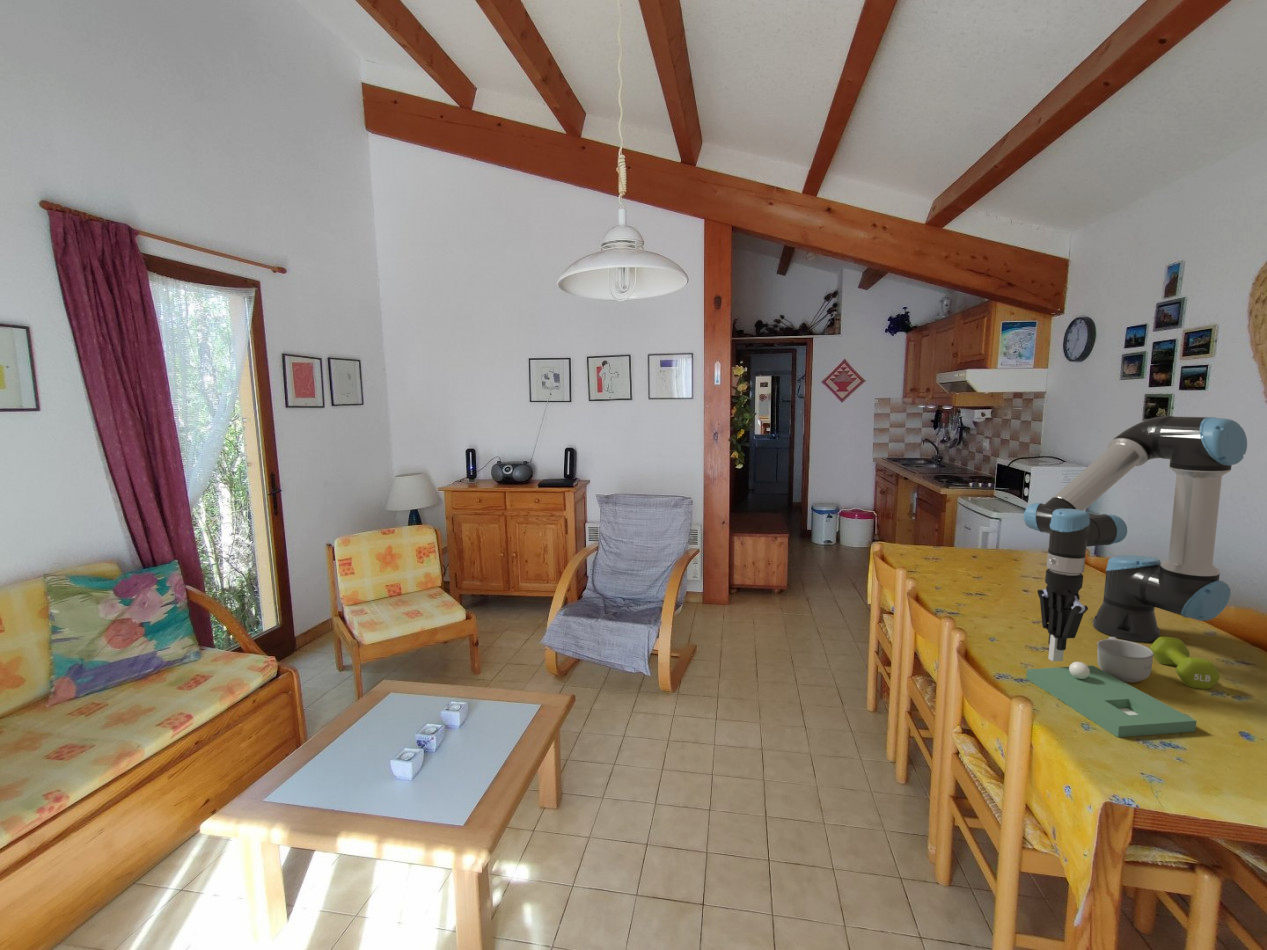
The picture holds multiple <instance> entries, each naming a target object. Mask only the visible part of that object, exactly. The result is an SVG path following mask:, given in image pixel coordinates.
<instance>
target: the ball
mask: <svg viewBox="0 0 1267 950" xmlns="http://www.w3.org/2000/svg"><path fill="white" fill-rule="evenodd" d="M1088 666H1089V665H1087V664H1086V663H1084V662H1081V661H1073V662H1071V664H1070V665H1069V666H1068V667H1069V671H1070V673H1071V674H1072V675H1073V676H1074V677H1075V678H1078V679H1085V678H1087V677H1088V676H1089V674H1090V670H1089V668H1088Z"/></svg>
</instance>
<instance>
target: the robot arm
mask: <svg viewBox="0 0 1267 950" xmlns="http://www.w3.org/2000/svg"><path fill="white" fill-rule="evenodd" d="M1107 448H1108V449H1106V450H1105V451H1104V452H1103V453H1102V454H1101V455H1100V456H1098V457H1097V458H1096V459H1095V460H1094V461H1092V463H1090V464H1089V465H1088V466H1087V467H1086V468H1085V469H1084V470H1082V471H1081V472H1080V473H1079V474H1078V475H1077V476H1075V478H1073V479H1072V480H1071V481H1069V482H1068V483H1067V484H1066V485H1065V486H1064V487H1063V488H1061V490H1059V491H1058V492H1057V493H1056V494H1055V495H1054V496H1052V497H1051V498H1050V499H1049V500H1048V501H1047V502H1045V503H1041V502H1039V503H1038V502H1036V503H1031V504H1029V505H1028V506H1027V507H1026V508H1025V510H1024V513H1023V521H1024V524H1025V525H1026V526H1027V527H1028V528H1029V529H1032V530H1035V531H1038V532H1040V533H1046V534H1049V539H1048V540H1049V541H1048V548H1047V549H1048V550H1047V559H1046V560H1047V561H1046V567H1047V569H1046V570H1045V578H1044V583H1045V584H1046V587H1045V588H1044V589H1038V590H1037V594H1038V597H1039V603H1040V605H1039V606H1040V611H1041V612H1040V613H1041V614H1040V615H1041V625H1042V628H1043V629H1046V630H1047V632H1048V641H1047V642H1048V645H1049V648H1048V658H1047V659H1048V660H1049V661H1052V662H1063V661H1064V654H1065V653H1064V651H1066V649H1067V641H1068V639H1075V638H1076V635H1077V634H1078V630H1079V628H1080V625H1081V622H1082V619H1083V617H1084V614H1086V613H1087V611H1088V610H1089V606H1087V605H1086V604H1085V605H1083V603H1081V601H1080V594H1079V591H1080V590H1081V589H1083V583H1084V575H1083V573H1085V562H1086V555H1087V553H1086V552H1087V547H1097V546H1108V545H1109V546H1111V545H1114V544H1118V543H1120V542H1123V540H1124V539H1126V537H1127V535H1128V525H1127V524H1126V522H1125V521H1124V520H1123V518H1121V517H1120V516H1118V515H1116V514H1107V513H1103V514H1095V513H1090V512H1088V511H1085V510H1087V509H1088V508H1090V506H1091V505H1092V504H1094V503H1095V502H1096V501H1097V500H1098V499H1099V498H1100V497H1101V496H1102V495H1104V493H1106V492H1107V491H1108V490H1109V489H1111V488H1112V487H1113V486H1114V485H1116V484H1117V483H1118V482H1119V481H1120V480H1121V479H1122V478H1123V477H1124V476H1125V475H1127V474H1128V473H1129V472H1130V471H1131V470H1133V469H1134V468H1135V467H1140V466H1143V465H1144V464H1146V463H1147V461H1150V460H1153V459H1165V460H1169V469H1171V470H1172V471H1173V472H1174V473H1175V475H1176V476H1175V487H1174V496H1173V506H1172V507H1173V508H1172V518H1171V529H1170V530H1171V531H1170V541H1169V547H1168V549H1169V550H1168V558H1167V559H1166V560H1164V561H1163V562H1162V561H1161V560H1160V559H1158V558H1156V557H1152V556H1143V555H1129V554H1128V555H1124V554H1123V555H1115V556H1112V557H1110V558H1109V559H1108V561H1107V564H1106V569H1105V579H1104V589H1103V599H1102V600H1103V601H1102V603H1101V605H1100V607H1099V608H1098V609H1097V610H1098V611H1097V613H1096V615H1094V617H1093V622H1092V626H1093V627H1094V629H1095V630H1096V631H1099V632H1101V633H1102V634H1104V635H1108V636H1109V637H1116V638H1117V639H1120V640H1125V641H1130V642H1137V643H1139V642H1140V643H1153V642H1154V641H1155V640H1156V639H1157V638H1159V637H1160V636H1161V635H1160V633H1161V631H1160V627H1158V623H1157V617H1156V614H1155V608H1156V609H1160V610H1163V611H1166V612H1168V613H1169V612H1170V613H1171V614H1175V615H1178V616H1181V617H1183V618H1186V619H1192V620H1196V621H1200V622H1201V621H1202V622H1205V621H1211V620H1213V619H1216V618H1217V617H1218V616H1219V615H1220V614H1221V613H1222V612H1223V611H1224V610H1225V609H1226V607H1227V605H1228V603H1229V600H1230V598H1231V594H1232V593H1231V588H1230V586H1229V584H1228V583H1226V582H1224V580H1220V574H1221V571H1220V570H1219V569H1218V568H1217V567H1216V566H1215V565H1214V564H1213V562H1214V556H1215V555H1214V553H1215V546H1216V545H1215V543H1216V535H1217V527H1218V526H1217V525H1218V516H1219V508H1220V507H1219V506H1220V498H1221V490H1222V480H1223V476H1224V475H1226V474H1228V473H1229V472H1231V471H1232V466H1234V465H1237V464H1239V463H1240V462H1241V461H1242V460H1243V459H1244V455H1246V453H1247V450H1248V439H1247V434H1246V431H1245V430H1244V428H1243V427H1242V426H1241V424H1240V423H1238V422H1237V421H1235V420H1233V419H1230V418H1221V417H1214V416H1213V417H1212V416H1209V417H1208V416H1173V415H1163V416H1156V417H1152V418H1149V419H1146V420H1142V421H1141V422H1138V423H1136V424H1134V425H1133V426H1131V427H1129V428H1126V429H1125V430H1124V431H1122V432H1121V433H1120V434H1118V435H1116V436H1115V437H1114V438H1113V439H1112V440H1111V441H1110V442H1109V443H1108V446H1107Z"/></svg>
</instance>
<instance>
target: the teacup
mask: <svg viewBox="0 0 1267 950" xmlns="http://www.w3.org/2000/svg"><path fill="white" fill-rule="evenodd" d="M1096 645H1097V647H1096V648H1097V649H1096V650H1097V652H1096V653H1097V655H1096V656H1097V657H1096V658H1097V659H1096V661H1097V664H1098V668H1099V669H1100V670H1102V671H1104V672H1106V673H1108V674H1110V675H1112V676H1114V677H1115V678H1117V679H1119V680H1121V681H1123V682H1125V683H1138V682H1141V681H1143V680H1146V679H1148V678H1149V677H1150V676H1151V674H1152V673H1151V672H1152V670H1153V669H1152V668H1153V659H1154V656H1153V655H1154V653H1153V651H1152V650H1151V649H1150V647H1147V646H1145V645H1143V644H1142V643H1141V644H1140V643H1139V642H1135V641H1130V640H1125V639H1119V638H1117V637H1113V636H1109V637H1108V638H1105V639H1101V640H1099V641H1097V642H1096Z"/></svg>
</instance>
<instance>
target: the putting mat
mask: <svg viewBox="0 0 1267 950" xmlns="http://www.w3.org/2000/svg"><path fill="white" fill-rule="evenodd" d="M1087 666H1088V668H1089V670H1090V674H1089V676H1088V677H1087V678H1085V679H1078V678H1075V677H1074V676H1073V675H1072V674H1071V673H1070V671H1069V667H1070V666H1059V667H1057V666H1056V667H1045V668H1044V667H1043V668H1029V669H1028V668H1027V669H1026V676H1025V677H1026V680H1027V681H1028V682H1031V683H1033V684H1034V685H1035V686H1036V687H1039V688H1040V689H1041V690H1043V689H1044V690H1043V691H1045V692H1046V691H1047V693H1048V692H1049V693H1050V694H1049V693H1048V694H1049V695H1051V694H1052V695H1053V697H1054V696H1055V697H1054V698H1056V697H1057V698H1058V699H1057V698H1056V699H1057V700H1059V699H1060V700H1061V701H1060V700H1059V701H1060V702H1062V701H1063V702H1064V704H1065V705H1066V704H1067V706H1068V707H1070V708H1071V709H1073V710H1074V711H1075V712H1077V713H1079V714H1080V715H1082V716H1083V717H1086V718H1087V719H1088V720H1090V721H1091V722H1093V723H1094V724H1096V725H1098V726H1099V727H1101V728H1102V729H1104V730H1105V731H1107V732H1109V733H1110V734H1111V735H1113V736H1114V737H1116V738H1125V737H1141V736H1142V737H1143V736H1152V735H1155V736H1156V735H1168V734H1169V735H1170V734H1181V733H1182V734H1183V733H1194V732H1196V728H1197V723H1198V722H1197V720H1196V719H1194V718H1192V717H1191V716H1188V715H1187V714H1185V713H1183V712H1181V711H1179V710H1177V709H1176V708H1174V707H1171V706H1170V705H1168V704H1166V703H1164V702H1162V701H1160V700H1158V699H1157V698H1155V697H1153V696H1151V695H1149V694H1148V693H1145V692H1144V691H1141V690H1139V689H1138V688H1136V687H1134V686H1132V685H1131V684H1129V683H1128V682H1124V681H1121V680H1119V679H1117V678H1115V677H1114V676H1112V675H1110V674H1108V673H1106V672H1104V671H1102V670H1101V669H1100V667H1096V666H1095V665H1087ZM1052 695H1051V696H1052ZM1063 702H1062V703H1063Z"/></svg>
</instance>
